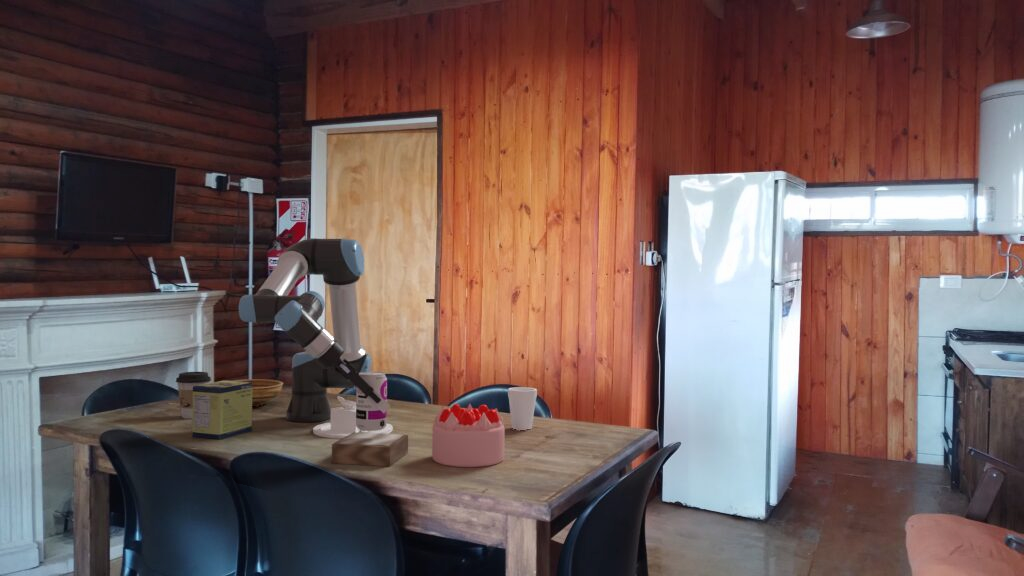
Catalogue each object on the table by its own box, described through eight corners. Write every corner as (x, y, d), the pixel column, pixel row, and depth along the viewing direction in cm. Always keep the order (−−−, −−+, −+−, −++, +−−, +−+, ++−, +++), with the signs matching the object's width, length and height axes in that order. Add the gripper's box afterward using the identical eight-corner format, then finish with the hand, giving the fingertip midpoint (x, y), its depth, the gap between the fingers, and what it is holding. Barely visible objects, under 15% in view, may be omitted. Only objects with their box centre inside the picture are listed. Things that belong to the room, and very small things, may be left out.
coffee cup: (167, 418, 266) (167, 374, 266) (192, 412, 277) (193, 370, 276) (193, 421, 262) (193, 376, 262) (218, 415, 272) (218, 372, 272)
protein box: (253, 430, 248) (253, 381, 248) (219, 440, 234) (220, 388, 233) (225, 427, 252) (226, 379, 252) (191, 437, 237) (191, 385, 237)
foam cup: (540, 427, 260) (541, 388, 260) (529, 432, 252) (530, 392, 251) (514, 424, 264) (515, 386, 264) (502, 429, 256) (503, 389, 255)
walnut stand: (331, 463, 208) (332, 443, 207) (353, 449, 223) (353, 431, 223) (390, 466, 205) (390, 446, 205) (408, 452, 221) (408, 434, 221)
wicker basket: (196, 404, 294) (197, 383, 293) (249, 396, 314) (249, 376, 314) (249, 413, 278) (249, 390, 278) (301, 404, 298) (301, 383, 298)
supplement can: (389, 425, 218) (390, 371, 217) (381, 431, 209) (382, 375, 209) (360, 424, 218) (361, 371, 218) (352, 430, 210) (352, 374, 210)
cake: (428, 467, 205) (429, 413, 205) (435, 450, 225) (436, 400, 225) (503, 468, 205) (504, 414, 205) (504, 451, 225) (505, 401, 225)
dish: (355, 443, 233) (355, 405, 233) (296, 433, 247) (296, 397, 247) (408, 430, 254) (408, 395, 254) (351, 421, 268) (352, 388, 267)
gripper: (310, 355, 218) (367, 410, 224) (319, 364, 198) (381, 424, 204) (329, 336, 220) (385, 391, 226) (340, 342, 200) (402, 403, 206)
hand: (383, 406), depth 215 cm, fingers closed on supplement can, 8 cm apart
